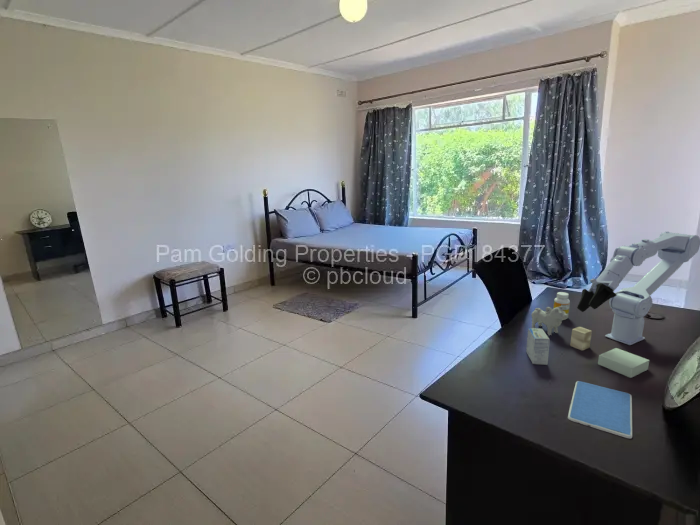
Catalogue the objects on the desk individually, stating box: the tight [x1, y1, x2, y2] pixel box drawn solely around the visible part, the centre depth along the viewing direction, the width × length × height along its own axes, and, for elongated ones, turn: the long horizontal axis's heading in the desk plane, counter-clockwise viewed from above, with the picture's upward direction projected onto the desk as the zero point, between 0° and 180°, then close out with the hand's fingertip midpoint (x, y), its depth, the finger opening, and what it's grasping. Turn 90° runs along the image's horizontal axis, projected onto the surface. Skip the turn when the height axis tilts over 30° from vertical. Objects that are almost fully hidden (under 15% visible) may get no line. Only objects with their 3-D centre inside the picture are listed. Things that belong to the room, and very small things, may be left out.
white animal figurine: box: [530, 306, 569, 336], centre depth 135 cm, size 5×13×11 cm, turn 28°
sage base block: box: [597, 347, 650, 379], centre depth 111 cm, size 9×9×3 cm
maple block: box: [569, 326, 593, 351], centre depth 124 cm, size 4×4×6 cm
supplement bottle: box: [552, 291, 571, 315], centre depth 148 cm, size 5×5×10 cm
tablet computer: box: [567, 380, 633, 439], centre depth 94 cm, size 19×13×1 cm, turn 144°
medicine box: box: [525, 327, 551, 366], centre depth 117 cm, size 8×4×9 cm, turn 168°
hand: (585, 308), depth 118 cm, fingers open, 7 cm apart
